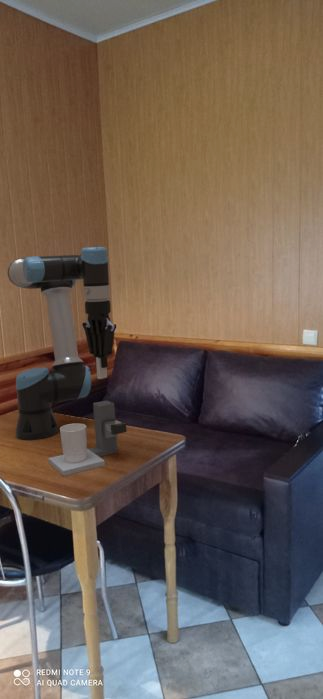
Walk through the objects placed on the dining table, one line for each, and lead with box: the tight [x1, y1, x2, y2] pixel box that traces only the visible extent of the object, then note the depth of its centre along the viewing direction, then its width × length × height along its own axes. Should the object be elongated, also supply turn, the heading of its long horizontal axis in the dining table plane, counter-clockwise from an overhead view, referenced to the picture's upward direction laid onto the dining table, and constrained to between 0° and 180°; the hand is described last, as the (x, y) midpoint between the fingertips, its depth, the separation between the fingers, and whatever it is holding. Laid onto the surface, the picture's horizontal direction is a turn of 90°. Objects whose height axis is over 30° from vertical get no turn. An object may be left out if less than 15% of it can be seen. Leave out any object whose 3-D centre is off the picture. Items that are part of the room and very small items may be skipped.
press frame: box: [48, 400, 118, 477], centre depth 162 cm, size 13×21×16 cm, turn 121°
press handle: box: [103, 418, 128, 438], centre depth 164 cm, size 8×4×5 cm, turn 31°
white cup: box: [59, 423, 88, 463], centre depth 161 cm, size 8×8×10 cm
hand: (102, 377), depth 162 cm, fingers closed
